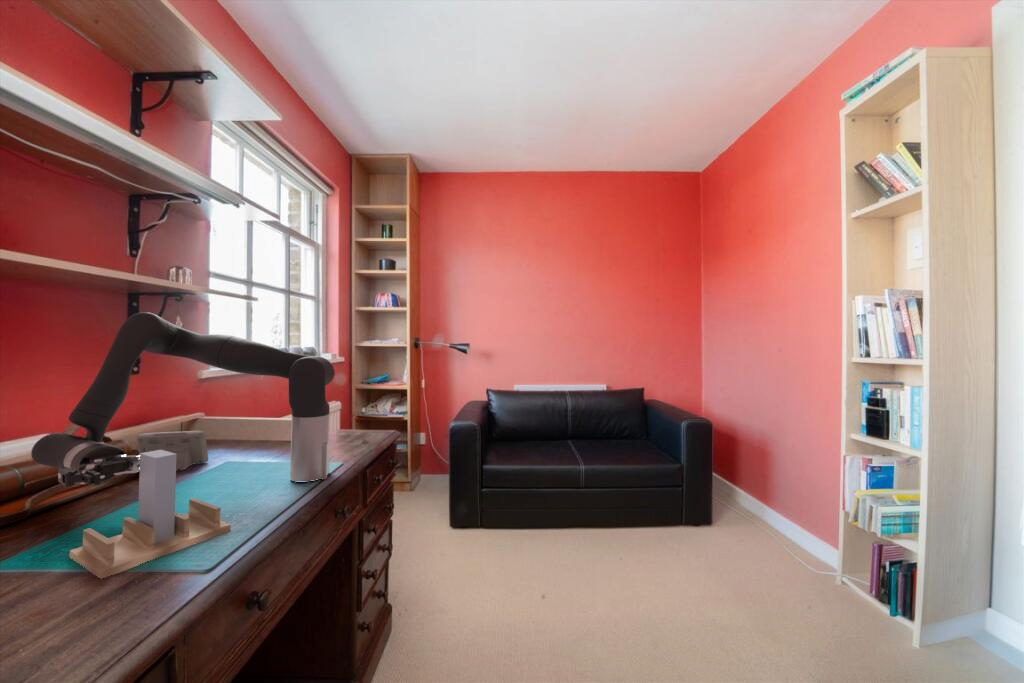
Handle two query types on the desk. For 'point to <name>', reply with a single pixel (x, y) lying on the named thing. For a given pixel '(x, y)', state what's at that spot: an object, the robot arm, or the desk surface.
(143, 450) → the grey basket
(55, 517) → the desk surface
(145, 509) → the grey tall block
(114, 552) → the rack
